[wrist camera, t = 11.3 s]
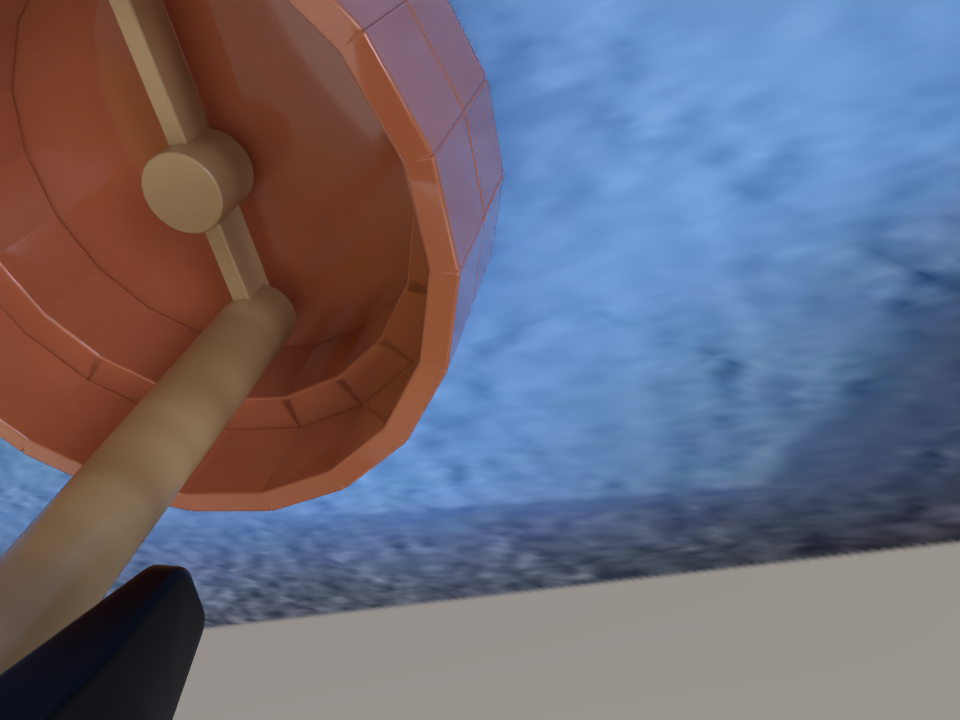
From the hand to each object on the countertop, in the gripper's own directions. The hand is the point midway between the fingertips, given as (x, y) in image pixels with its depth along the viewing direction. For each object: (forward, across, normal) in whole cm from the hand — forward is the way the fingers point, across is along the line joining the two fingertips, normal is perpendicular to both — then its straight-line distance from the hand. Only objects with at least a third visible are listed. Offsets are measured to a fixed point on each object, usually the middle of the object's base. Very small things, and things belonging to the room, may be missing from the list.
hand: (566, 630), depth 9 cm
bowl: (+13, +10, -1) cm, 16 cm away
